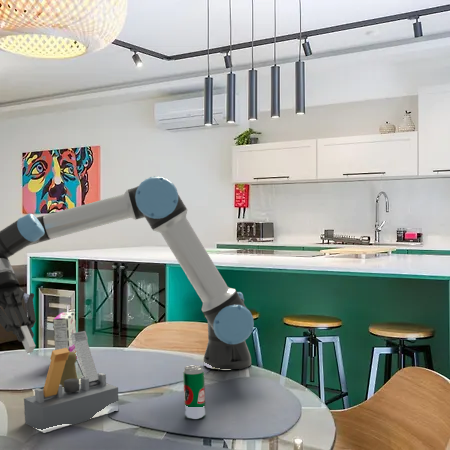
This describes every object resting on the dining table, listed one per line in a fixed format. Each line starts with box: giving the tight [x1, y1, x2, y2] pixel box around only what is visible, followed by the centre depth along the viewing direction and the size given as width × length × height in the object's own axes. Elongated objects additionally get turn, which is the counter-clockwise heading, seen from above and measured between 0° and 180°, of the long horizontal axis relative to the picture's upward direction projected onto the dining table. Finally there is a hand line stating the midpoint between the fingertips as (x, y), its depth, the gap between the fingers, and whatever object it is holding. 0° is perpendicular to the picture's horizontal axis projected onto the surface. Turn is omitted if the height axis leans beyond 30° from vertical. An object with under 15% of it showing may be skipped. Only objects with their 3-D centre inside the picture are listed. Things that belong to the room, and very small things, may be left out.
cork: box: [60, 352, 79, 387], centre depth 166 cm, size 6×6×11 cm
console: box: [23, 372, 120, 430], centre depth 145 cm, size 10×20×9 cm, turn 132°
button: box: [64, 378, 80, 393], centre depth 145 cm, size 4×4×2 cm
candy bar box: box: [52, 311, 77, 353], centre depth 195 cm, size 11×5×16 cm, turn 3°
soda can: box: [182, 364, 206, 407], centre depth 142 cm, size 5×5×12 cm
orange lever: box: [42, 348, 69, 399], centre depth 138 cm, size 2×4×14 cm
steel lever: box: [70, 330, 100, 387], centre depth 151 cm, size 2×4×14 cm
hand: (31, 349), depth 148 cm, fingers closed
